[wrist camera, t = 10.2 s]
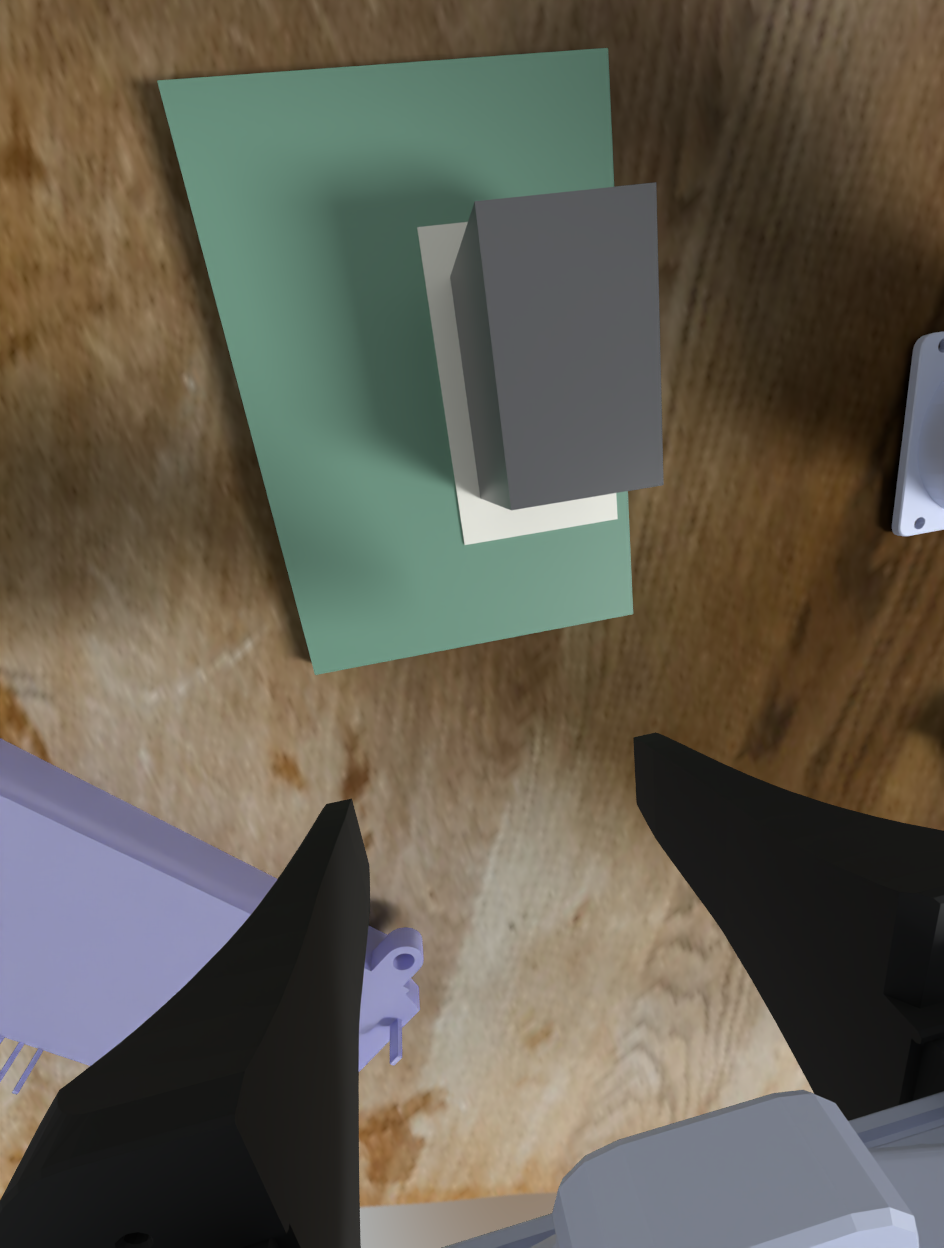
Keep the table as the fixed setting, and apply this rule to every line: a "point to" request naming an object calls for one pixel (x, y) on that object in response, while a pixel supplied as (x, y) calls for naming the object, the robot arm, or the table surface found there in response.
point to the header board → (391, 336)
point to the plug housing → (562, 344)
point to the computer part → (132, 919)
